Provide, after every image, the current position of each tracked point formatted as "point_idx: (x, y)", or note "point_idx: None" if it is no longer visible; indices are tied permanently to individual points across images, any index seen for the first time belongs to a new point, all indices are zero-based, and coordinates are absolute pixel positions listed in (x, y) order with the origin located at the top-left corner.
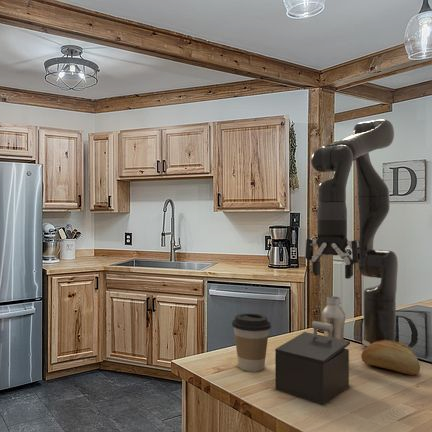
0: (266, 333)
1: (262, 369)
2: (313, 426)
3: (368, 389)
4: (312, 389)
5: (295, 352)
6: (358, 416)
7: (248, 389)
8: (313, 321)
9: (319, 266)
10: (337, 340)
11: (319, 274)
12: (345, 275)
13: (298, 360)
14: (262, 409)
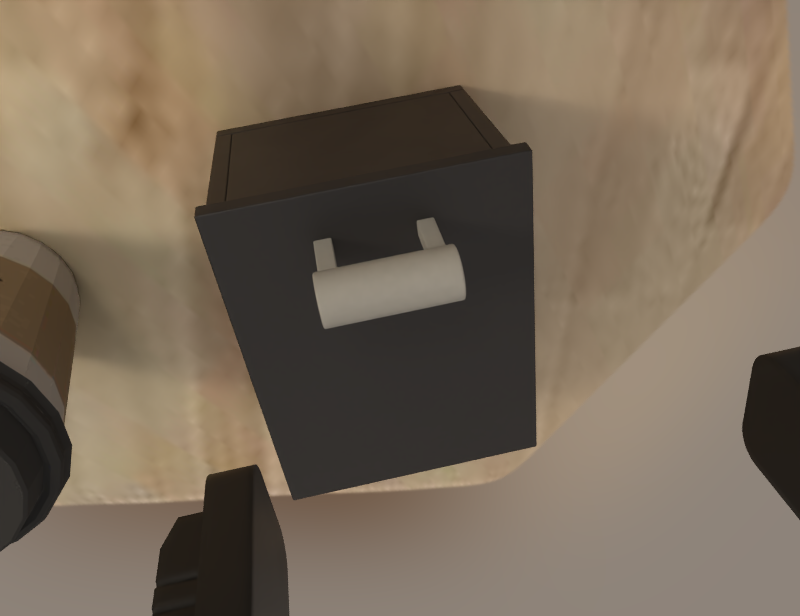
0: (51, 398)
1: (68, 269)
2: (532, 448)
3: (540, 37)
4: None
5: (391, 467)
6: (603, 302)
7: (227, 443)
8: (327, 323)
9: (255, 605)
10: (463, 197)
11: (257, 471)
12: (774, 481)
13: None
14: (372, 491)
